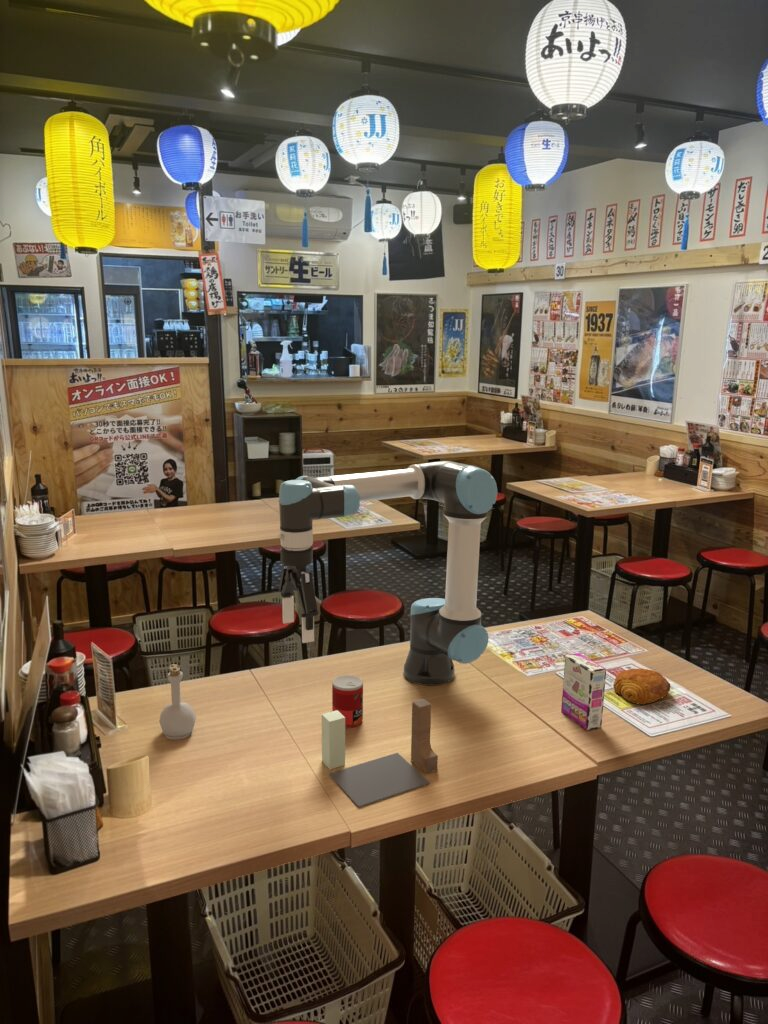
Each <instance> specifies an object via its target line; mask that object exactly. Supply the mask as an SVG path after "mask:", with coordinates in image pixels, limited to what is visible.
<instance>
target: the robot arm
mask: <svg viewBox="0 0 768 1024" xmlns="http://www.w3.org/2000/svg"><path fill="white" fill-rule="evenodd" d="M278 492H279V493H278V505H279V507H278V508H279V529H280V530H279V533H280V534H278V539H279V540H280V546H281V547H280V549H279V550H280V552H279V553H280V563H281V564H282V565H281V566H282V567H281V574H280V578H279V585H278V592H279V593H280V595H281V603H282V610H281V611H282V624H290V623H295V605H294V604H295V602H294V601H295V600H294V596H295V592H294V591H296V592H297V595H298V599H299V603H300V606H301V610H302V613H301V615H300V618H301V643H302V644H307V643H312V642H315V617H316V616H318V615H319V611H318V605H317V599H316V594H315V589H314V583H313V572H308V571H307V566H308V565H311V564H312V562H313V561H314V557H313V556H314V555H313V552H314V551H313V550H314V549H313V547H312V546H313V544H314V533H313V532H314V531H313V529H314V528H313V521H317V520H326V519H334V518H336V519H337V518H346V517H349V516H354V515H355V514H357V513H358V511H359V510H360V505H361V503H362V502H363V503H364V502H372V501H380V500H389V499H399V498H405V497H406V498H407V497H410V498H412V499H414V500H421V499H424V500H432V501H436V502H440V503H441V504H442V503H443V516H444V518H446V519H447V521H448V532H447V533H448V535H447V553H446V577H445V592H444V593H445V597H444V598H441V597H440V598H439V597H428V598H421V599H417V600H416V601H414V602H413V603H411V607H410V612H409V613H410V614H409V615H410V626H409V627H410V630H409V631H410V633H409V637H410V638H409V640H410V641H409V651H408V654H407V657H406V660H405V662H404V664H403V676H404V677H405V679H406V680H408V681H410V682H412V683H415V684H418V685H422V686H423V685H424V686H439V685H443V684H447V683H449V682H451V681H453V680H454V678H455V672H456V671H455V670H456V669H455V665H454V661H456V662H457V663H460V664H463V665H464V664H466V665H467V664H471V663H473V662H475V661H477V660H478V659H479V658H480V657H481V656H482V655H483V654H484V653H485V651H486V649H487V647H488V645H489V644H488V643H489V639H490V638H489V632H488V631H487V630H486V628H485V627H484V626H483V625H482V612H481V610H480V609H479V608H478V607H477V601H478V600H477V598H478V597H477V596H478V595H477V594H478V581H479V579H478V578H479V561H480V547H481V545H480V543H481V527H482V522H483V521H485V520H486V519H487V518H488V512H489V511H490V510H492V508H493V505H495V504H496V501H497V498H498V487H497V482H496V480H495V477H493V475H492V474H491V473H490V472H489V471H487V470H486V469H483V468H481V467H479V466H476V465H472V464H466V463H461V462H456V461H452V460H440V461H431V462H425V463H424V462H422V463H417V464H416V463H415V464H413V463H412V464H410V465H409V466H408V467H407V468H404V469H392V470H390V469H389V470H382V471H369V472H359V473H350V474H338V475H328V476H318V477H317V476H316V477H314V476H311V475H301V476H298V477H297V478H295V479H290V480H286V481H283V482H282V483H280V485H279V491H278Z"/></svg>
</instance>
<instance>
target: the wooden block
mask: <svg viewBox="0 0 768 1024" xmlns="http://www.w3.org/2000/svg"><path fill="white" fill-rule="evenodd" d="M431 719H432V704H431V703H430V702H429V701H427V699H425V698H422V699H418V700H415V701H412V702H411V739H410V741H411V745H410V761H411V762H413V763H414V764H415V765H416V766H417V767H418V768H419V769H421V771H423V772H424V773H425V774H428V773H431V772H434V771H437V770H438V763H439V761H438V757H439V755H438V754H437V753H435V752H434V750H433V748H432V744H431V723H432V722H431Z"/></svg>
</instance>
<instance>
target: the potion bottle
mask: <svg viewBox="0 0 768 1024" xmlns="http://www.w3.org/2000/svg"><path fill="white" fill-rule="evenodd" d="M183 674H184V672H182V671H181V667H178V664H177V663H173V664H169V672H168V673H167V674H166V675H167V679H168V680H167V681H168V682H169V683H170V692H171V703H168V704H167V705H166V706H165V707H164V708H163V709H162V711H161V713H160V716H159V721H158V722H159V724H160V725H159V726H160V728H161V731H162V734H163V735H164V737H165V739H168V740H171V741H177V740H183V739H186V738H188V737H189V736H191V735H192V732H193V730H194V727H195V725H196V719H197V716H196V713H195V710H194V708H192V706H191V705H190V704H188V703H187V702H184V701H182V699H181V697H182V696H181V681H182V680H183V676H184V675H183Z"/></svg>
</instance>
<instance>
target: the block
mask: <svg viewBox="0 0 768 1024" xmlns="http://www.w3.org/2000/svg"><path fill="white" fill-rule="evenodd" d="M321 761H322V763H323V764H324V766H325V767H327V768H328V769H329V770H333V769H336V768H339V767H342V766H345V765H346V727H345V717H344V716H343V715H342V714H341V713H340V712H339V711H338V710H336V711H328V712H325V713H321Z"/></svg>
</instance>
